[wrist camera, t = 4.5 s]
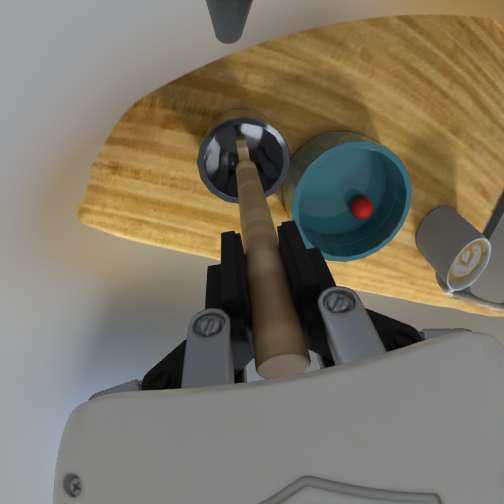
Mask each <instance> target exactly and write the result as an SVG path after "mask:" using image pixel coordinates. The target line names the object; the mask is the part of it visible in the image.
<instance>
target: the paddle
mask: <svg viewBox="0 0 504 504" xmlns="http://www.w3.org/2000/svg"><path fill="white" fill-rule="evenodd" d="M236 144H237V151H238V156H239V161H240V162H239V163H238V165H237V166H236V177H237V188H238V198H239V209H240V219H241V230H242V240H243V249H244V254H245V263H246V273H247V283H248V292H249V302H250V311H251V321H252V324H251V329H252V339H253V348H254V357H255V367H256V371H257V373H258V375H259V376H260V377H262V378H264V379H272V378H278V377H284V376H289V375H295V374H300V373H304V372H305V371H306V370H307V369H308V368H309V366H310V362H311V360H310V355H309V352H308V348H307V344H306V340H305V336H304V332H303V328H302V325H301V321H300V317H299V315H298V314H297V310H296V306H295V302H294V299H293V295H292V291H291V287H290V284H289V280H288V276H287V273H286V269H285V265H284V262H283V258H282V254H281V251H280V247H279V241H278V238H277V234H276V231H275V227H274V224H273V221H272V217H271V214H270V210H269V207H268V204H267V200H266V197H265V194H264V191H263V187H262V184H261V181H260V177H259V174H258V171H257V168H256V165H255V164H254V163H253V162H252V161H250V158H249V152H248V147H247V143H246V140H245V136H244V134H243V135H237V136H236Z"/></svg>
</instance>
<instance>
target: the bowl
mask: <svg viewBox="0 0 504 504" xmlns="http://www.w3.org/2000/svg"><path fill="white" fill-rule="evenodd" d="M282 191H283V200H284V206H285V209H286V211H287V213H288V216H289V218H290V221H293V220H295V222H296V225H297V227H298V229H299V232H300V234H301V237H302V239H303V241H304V244H305V246H306V248H307V249H310V248H315V247H318V248H319V249H320V251H321V253H322V255H323V257H324V259H326V260H329V261H340V262H347V261H352V260H357V259H362V258H365V257H367V256H369V255H371V254H373V253H375V252H377V251H379V250H380V249H381V248H383V247H384V246H385V245H386V244H387V243H389V242H390V241H391V240H392V239H393V238H394V236H395V235H396V234H397V232H398V231H399V230H400V228H401V227H402V225H403V223H404V221H405V218H406V216H407V213H408V211H409V208H410V202H411V192H412V190H411V184H410V179H409V175H408V172H407V170H406V169H405V167H404V165H403V164H402V162H401V160H400V159H399V157H398V156H396V155H395V154H394V153H392V152H391V151H390V150H389V149H387V148H386V147H385V146H383V145H381V144H379V143H377V142H375V141H373V140H371V139H370V138H368V137H366V136H363V135H360V134H357V133H354V132H349V131H333V132H328V133H325V134H321V135H319V136H317V137H315V138H313V139H311V140H310V141H308V142H307V143H306V144H305V145H303V146H302V147H301V148H300V149H299V150H298V151H297V152H296V154H295V155H294V156H293V158H292V159H291V161H290V165H289V169H288V172H287V175H286V179H285V181H284V182H283V187H282ZM359 197H364V198H367V199H368V200H369V201H370V202H371V203H372V206H373V211H372V214H371V215H370V217H368V218H367V219H363V220H362V219H358V218H356V217H355V216H354V215H353V214H352V211H351V205H352V203H353V201H354V200H355V199H357V198H359Z"/></svg>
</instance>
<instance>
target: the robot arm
mask: <svg viewBox="0 0 504 504" xmlns="http://www.w3.org/2000/svg"><path fill="white" fill-rule="evenodd" d="M277 231H278V239H279V247H280V251H281V254H282V258H283V262H284V265H285V269H286V273H287V276H288V280H289V284H290V287H291V291H292V295H293V299H294V302H295V306H296V310H297V314H298V315H299V317H300V321H301V325H302V328H303V332H304V336H305V340H306V344H307V348H308V349H309V350H311V351H313V352H315V353H317V359H318V362H319V365H320V368H321V369H319V370H315V371H310V372H305V373H300V374H295V375H289V376H284V377H278V378H272V379H266V380H259V381H252V382H247V374H246V373H247V372H246V365H247V364H248V363H249V362H250V361H251V360H252V359H253V358H254V348H253V339H252V329H251V324H252V321H251V311H250V302H249V292H248V283H247V273H246V263H245V254H244V249H243V245H242V240H241V235H240V233H237V234H235V231H229V232H224V233H221V264H218V265H212V266H208V271H207V285H206V286H207V287H206V302H205V310H202V311H200V312H198V313H197V314H196V315H194V316H193V318H192V319H191V321H190V323H189V326H188V333H187V339H186V340H184V341H183V342H182V343H181V344H180V345H179V346H178V347H176V348H175V349H174V350H173V351H172V352H171V353H169V354H168V355H167V356H166V357H165V358H164V359H163V360H161V361H160V362H159V363H158V364H157V365H155V366H154V367H153V368H152V369H151V370H150V371H149V372H148V373H147V374H146V375H145V376H144V378H143V380H141V381H138V380H137V379H135V380H132V381H130V382H127V383H124V384H121V385H118V386H115V387H112V388H109V389H106V390H103V391H100V392H97V393H95V394H94V395H92V396H91V397H90V398H89V400H88V401H86V402H84V403H82V404H81V405H79V406H78V407H76V408H75V409H74V410H73V411H72V413H71V414H70V416H69V418H68V420H67V422H66V425H65V428H64V431H63V435H62V438H61V442H60V446H59V451H58V457H57V462H56V469H55V479H54V491H53V504H504V346H503V345H502V344H501V343H500V342H499V341H498V340H497V339H496V338H495V337H493V336H491V335H489V334H485V333H481V332H472V331H471V330H469V329H464V328H455V329H423V330H422V332H419V331H417V330H416V329H415V328H414V327H412V326H410V325H407V324H405V323H402V322H400V321H397V320H395V319H392V318H389V317H387V316H384V315H382V314H379V313H377V312H374V311H372V310H369V309H366V308H364V306H363V304H362V302H361V300H360V298H359V296H358V295H357V294H356V292H354V291H353V290H351V289H349V288H347V287H341V286H336V284H335V281H334V279H333V277H332V275H331V273H330V270H329V268H328V266H327V264H326V262H325V259H324V257H323V255H322V253H321V251H320V249H319V248H318V247H315V248H310V249H306V246H305V244H304V241H303V239H302V237H301V234H300V232H299V229H298V227H297V225H296V222H295V220H293V221H286V222H282V226H277Z"/></svg>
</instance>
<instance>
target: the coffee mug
mask: <svg viewBox="0 0 504 504" xmlns="http://www.w3.org/2000/svg"><path fill="white" fill-rule="evenodd" d="M416 245H417V248H418V250H419V251H420V252H421V254H422V255H423V256H424V257H425V258H426V260H427V261H428V262H429V263H430V264H431V266H432V267H433V268H434V269H435V271H436V279H437V282H438V284H439V286H440V287H441V288H442V290H443V291H445V292H446V293H451V292H454V291H455V290H461V289H464V288H466V287H468V286H469V285H470V284H472V283H473V282H474V281H475V280H476V279H477V278H478V277H479V276H480V275H481V273H482V272H483V270H484V269H485V267H486V265H487V263H488V261H489V258H490V253H491V245H490V242H489V241H488V239H487V238H486V237H484V236H483V235H482V234H481V233H480V232H479V231H478V230H477V229H476V228H475V227H473V226H472V225H471V224H470V223H469V222H468V221H467V220H465V219H464V218H463V217H462V216H461V215H460V214H458V213H457V212H456V211H455V210H454V209H452V208H451V207H448V206H441V207H438V208H436V209H434V210H433V211H431V212H430V213H429V214H428V215H427V216H426V217H425V218H424V220H423V221H422V223H421V224H420V226H419V229H418V231H417V235H416Z"/></svg>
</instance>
